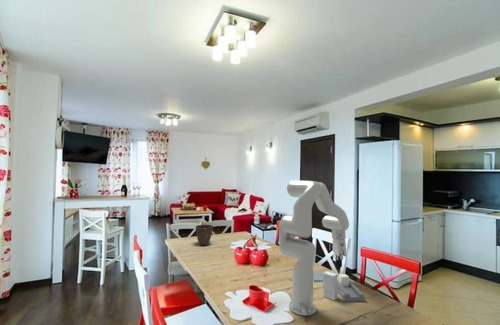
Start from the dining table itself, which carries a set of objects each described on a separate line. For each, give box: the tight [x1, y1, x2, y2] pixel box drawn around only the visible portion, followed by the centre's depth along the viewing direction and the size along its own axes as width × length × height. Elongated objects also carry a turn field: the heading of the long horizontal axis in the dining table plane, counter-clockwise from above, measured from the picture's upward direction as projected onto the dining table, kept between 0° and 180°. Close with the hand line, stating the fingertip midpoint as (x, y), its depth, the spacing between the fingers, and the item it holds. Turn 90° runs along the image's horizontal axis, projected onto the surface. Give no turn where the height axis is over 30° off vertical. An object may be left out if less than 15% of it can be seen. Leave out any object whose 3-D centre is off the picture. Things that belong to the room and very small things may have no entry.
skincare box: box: [322, 270, 339, 301], centre depth 130 cm, size 6×4×12 cm
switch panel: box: [337, 279, 366, 303], centre depth 135 cm, size 18×10×4 cm, turn 2°
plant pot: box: [195, 224, 214, 246], centre depth 219 cm, size 15×15×16 cm
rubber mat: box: [313, 271, 326, 283], centre depth 155 cm, size 12×12×1 cm
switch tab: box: [338, 273, 350, 286], centre depth 140 cm, size 4×4×5 cm
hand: (338, 266), depth 149 cm, fingers closed
